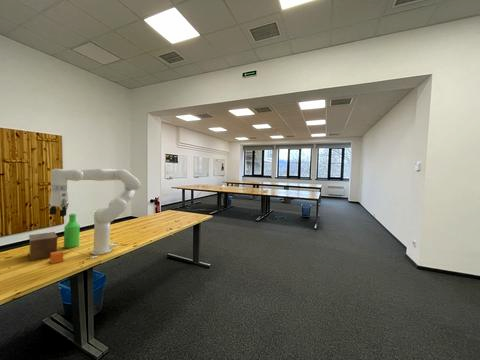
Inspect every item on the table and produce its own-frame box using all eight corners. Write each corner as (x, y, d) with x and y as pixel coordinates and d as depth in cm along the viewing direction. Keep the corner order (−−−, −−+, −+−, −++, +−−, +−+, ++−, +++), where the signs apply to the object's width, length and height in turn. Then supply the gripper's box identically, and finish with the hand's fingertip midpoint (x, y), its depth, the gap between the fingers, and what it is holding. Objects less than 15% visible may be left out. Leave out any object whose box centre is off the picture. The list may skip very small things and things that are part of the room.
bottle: (66, 245, 151) (67, 213, 151) (80, 244, 155) (81, 212, 155) (62, 249, 143) (63, 215, 143) (77, 247, 147) (78, 214, 147)
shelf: (54, 249, 142) (54, 231, 142) (57, 256, 131) (57, 236, 131) (28, 254, 132) (29, 235, 132) (29, 261, 122) (30, 240, 122)
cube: (61, 258, 128) (61, 250, 128) (62, 261, 124) (63, 252, 124) (50, 261, 124) (50, 252, 124) (51, 263, 120) (51, 255, 120)
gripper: (75, 189, 124) (73, 215, 124) (57, 187, 130) (56, 213, 130) (61, 189, 117) (59, 217, 117) (42, 187, 123) (41, 214, 123)
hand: (57, 215), depth 123 cm, fingers open, 9 cm apart
